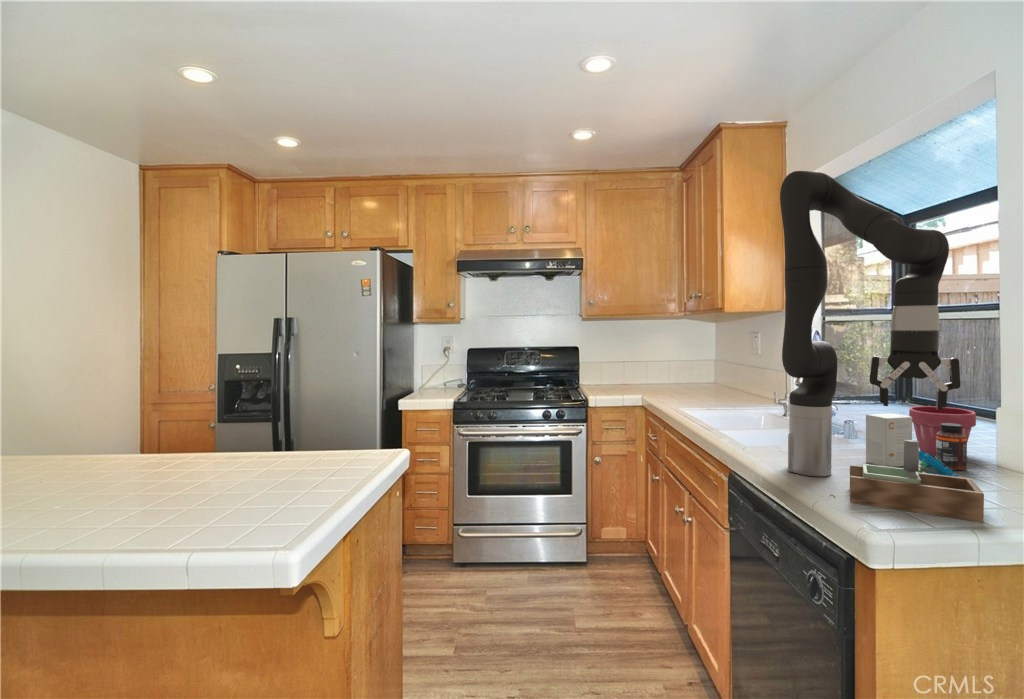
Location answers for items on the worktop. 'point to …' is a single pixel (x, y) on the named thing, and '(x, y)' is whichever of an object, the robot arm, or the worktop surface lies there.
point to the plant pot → (938, 423)
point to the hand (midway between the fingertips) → (911, 407)
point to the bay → (920, 495)
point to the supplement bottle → (952, 446)
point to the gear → (933, 465)
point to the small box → (887, 438)
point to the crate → (898, 474)
